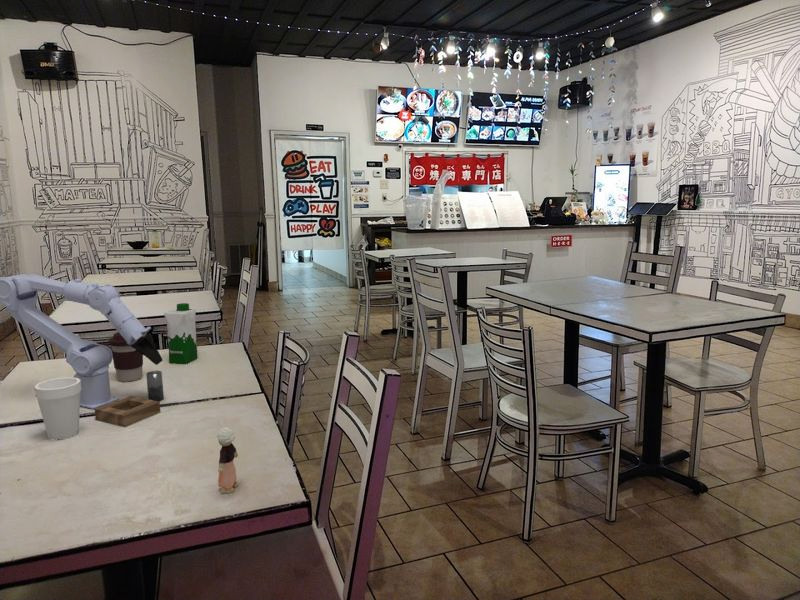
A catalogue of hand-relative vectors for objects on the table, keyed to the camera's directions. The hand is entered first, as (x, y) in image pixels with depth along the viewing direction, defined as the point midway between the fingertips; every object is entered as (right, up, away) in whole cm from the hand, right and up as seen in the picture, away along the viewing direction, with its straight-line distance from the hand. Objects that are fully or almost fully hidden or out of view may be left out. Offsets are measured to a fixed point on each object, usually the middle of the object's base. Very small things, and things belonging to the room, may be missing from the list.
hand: (159, 361), depth 155 cm
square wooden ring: (-6, -14, -6) cm, 16 cm away
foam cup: (-16, -16, -17) cm, 28 cm away
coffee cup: (-20, -8, +25) cm, 33 cm away
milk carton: (-10, -5, +45) cm, 46 cm away
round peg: (-4, -12, +6) cm, 14 cm away
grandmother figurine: (+32, -21, -43) cm, 58 cm away
